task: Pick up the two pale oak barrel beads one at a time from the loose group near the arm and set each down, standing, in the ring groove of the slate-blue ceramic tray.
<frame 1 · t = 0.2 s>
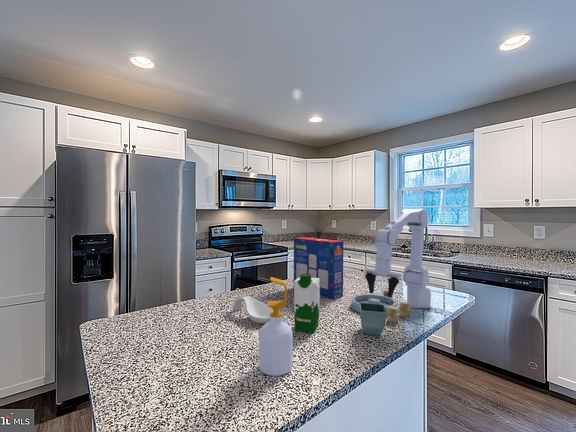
hand: (380, 294, 114), 10 cm above the countertop, tool pointing down, fingers open, 7 cm apart
flower pot: (372, 332, 104), on the countertop
pasta box: (317, 292, 155), on the countertop
spoon rest: (253, 318, 118), on the countertop
soap bottle: (275, 368, 80), on the countertop
ring tray: (374, 308, 130), on the countertop
bead a: (404, 315, 121), on the countertop
bead b: (392, 320, 115), on the countertop
milk carton: (306, 328, 107), on the countertop
bead c: (387, 301, 139), on the countertop
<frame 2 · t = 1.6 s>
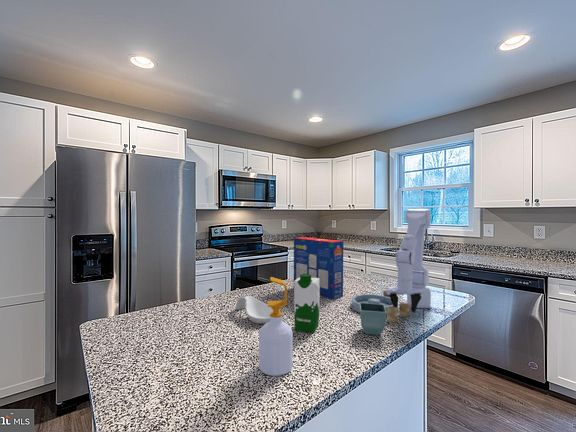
hand: (404, 311, 121), 2 cm above the countertop, tool pointing down, fingers open, 7 cm apart
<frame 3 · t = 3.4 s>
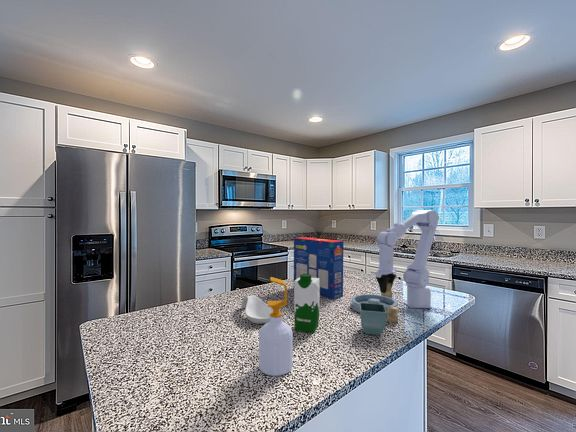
hand: (385, 291, 126), 8 cm above the countertop, tool pointing down, fingers closed on bead a, 4 cm apart
bead a: (386, 295, 126), point 7 cm above the countertop, touching gripper
when the fingers open (3 cm above the countertop, at t = 4.8 s): bead a stays where it is, resting on ring tray.
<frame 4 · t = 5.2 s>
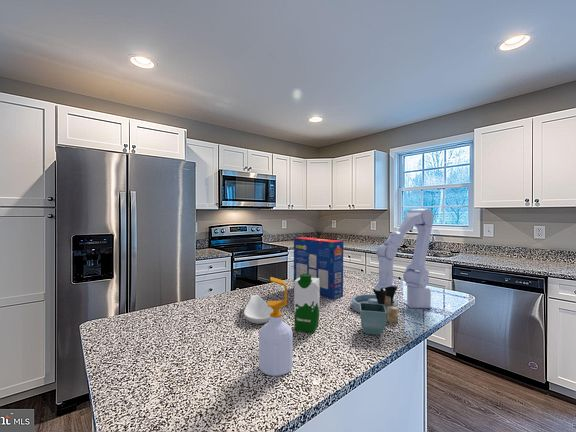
hand: (385, 304, 126), 3 cm above the countertop, tool pointing down, fingers open, 7 cm apart
bead a: (385, 308, 126), point 1 cm above the countertop, touching ring tray
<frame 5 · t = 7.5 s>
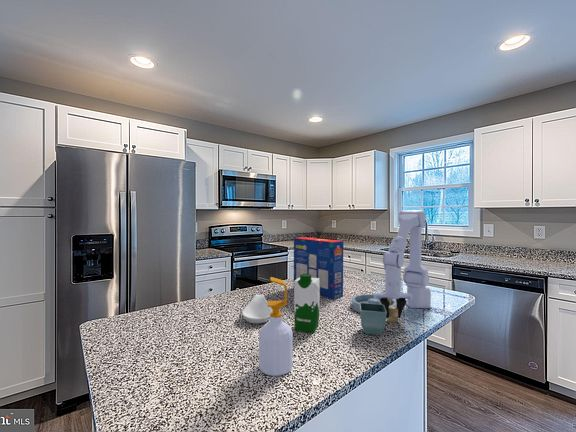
hand: (392, 317, 115), 1 cm above the countertop, tool pointing down, fingers closed on bead b, 4 cm apart
bead b: (392, 320, 115), on the countertop, touching gripper
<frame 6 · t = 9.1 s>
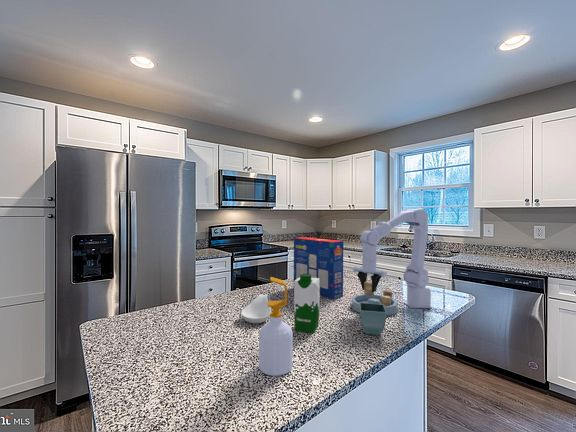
hand: (369, 290, 125), 9 cm above the countertop, tool pointing down, fingers closed on bead b, 4 cm apart
bead b: (368, 294, 125), point 7 cm above the countertop, touching gripper
when the fingers open (3 cm above the countertop, at t = 10.7 s): bead b stays where it is, resting on ring tray.
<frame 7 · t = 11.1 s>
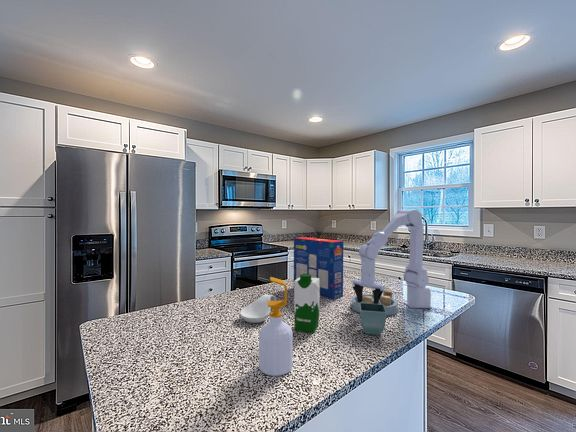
hand: (367, 304, 126), 3 cm above the countertop, tool pointing down, fingers open, 7 cm apart
bead b: (367, 308, 126), point 1 cm above the countertop, touching ring tray
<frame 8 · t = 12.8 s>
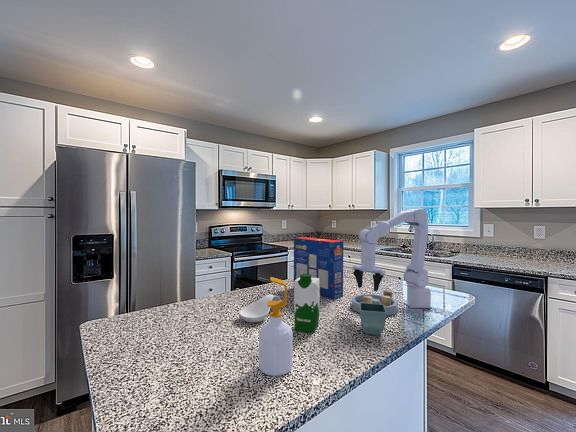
hand: (367, 289, 126), 9 cm above the countertop, tool pointing down, fingers open, 7 cm apart
at the end: bead a inside the target area on the ring tray (5.5 cm from its centre), point 1.0 cm above the ring tray's base; bead b inside the target area on the ring tray (5.5 cm from its centre), point 1.0 cm above the ring tray's base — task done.
